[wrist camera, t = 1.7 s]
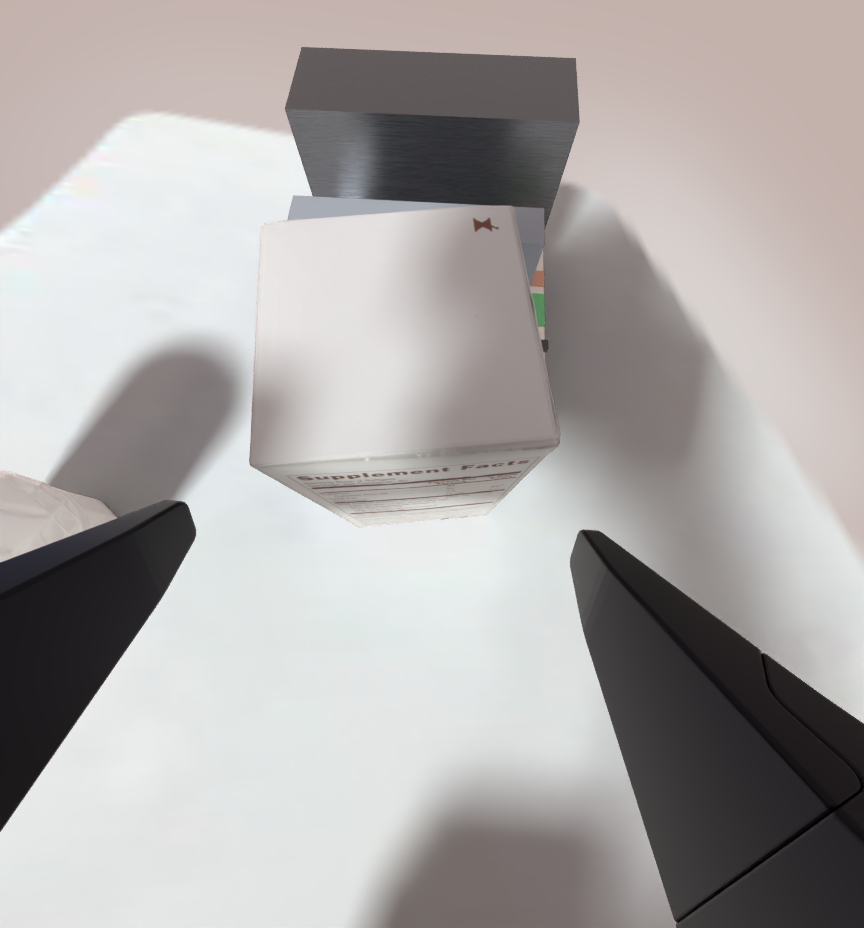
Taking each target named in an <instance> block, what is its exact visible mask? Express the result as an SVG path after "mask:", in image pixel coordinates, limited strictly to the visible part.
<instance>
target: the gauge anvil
mask: <svg viewBox="0 0 864 928" xmlns="http://www.w3.org/2000/svg"><path fill="white" fill-rule="evenodd" d="M285 111H286V114H287V117H288V120H289V123H290V126H291V130H292V133H293V136H294V139H295V142H296V145H297V148H298V151H299V154H300V158H301V161H302V164H303V167H304V170H305V173H306V176H307V179H308V183H309V186H310V189H311V192H312V195H313V197H332V198H352V199H371V200H391V201H411V202H431V203H450V204H470V205H490V206H512V207H529V208H544V230H545V227H546V224H547V221H548V218H549V215H550V212H551V209H552V206H553V202H554V199H555V196H556V193H557V190H558V187H559V184H560V181H561V178H562V175H563V172H564V169H565V165H566V162H567V159H568V156H569V153H570V150H571V146H572V144H573V141H574V138H575V135H576V131H577V128H578V125H579V122H580V121H579V105H578V89H577V72H576V58H554V57H531V56H506V55H480V54H456V53H433V52H408V51H383V50H359V49H358V50H357V49H335V48H309V47H302V48H301V52H300V55H299V59H298V63H297V67H296V70H295V74H294V78H293V81H292V85H291V89H290V92H289V96H288V99H287V103H286V107H285ZM530 290H531V293H532V296H533V299H534V304H535V309H536V316H537V323H538V329H539V334H540V338H541V340H545V294H544V271H543V250H542V253H541V256H540V259H539V262H538V265H537V268H536V271H535V274H534V277H533V280H532V283H531V286H530ZM544 357H545V352H544Z"/></svg>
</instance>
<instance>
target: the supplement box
mask: <svg viewBox="0 0 864 928" xmlns="http://www.w3.org/2000/svg"><path fill="white" fill-rule="evenodd" d="M559 443H560V429H559V424H558V420H557V415H556V409H555V404H554V400H553V396H552V391H551V387H550V382H549V377H548V372H547V367H546V362H545V357H544V352H543V348H542V343H541V338H540V334H539V329H538V323H537V316H536V309H535V304H534V299H533V296H532V293H531V290H530V285H529V280H528V275H527V270H526V266H525V261H524V256H523V251H522V246H521V241H520V236H519V232H518V227H517V221H516V214H515V209H514V207H512V206H469V207H452V208H440V209H428V210H415V211H401V212H391V213H379V214H364V215H351V216H339V217H327V218H312V219H297V220H287V221H279V222H273V223H266V224H264V225H263V226H261V231H260V255H259V273H258V293H257V313H256V335H255V356H254V378H253V399H252V420H251V443H250V458H249V463H250V466H252V467H253V468H255V469H257V470H259V471H261V472H262V473H264V474H266V475H268V476H269V477H271V478H273V479H275V480H277V481H278V482H280V483H282V484H283V485H285V486H287V487H289V488H291V489H292V490H294V491H296V492H298V493H299V494H301V495H303V496H304V497H306V498H308V499H310V500H312V501H313V502H315V503H317V504H319V505H321V506H323V507H324V508H326V509H328V510H329V511H331V512H333V513H335V514H336V515H338V516H340V517H341V518H343V519H345V520H347V521H348V522H350V523H352V524H354V525H356V526H357V527H359V528H362V527H369V526H380V525H389V524H399V523H410V522H420V521H431V520H442V519H452V518H462V517H472V516H482V515H486V514H487V513H489V512H490V511H491V510H492V509H493V508H494V507H495V506H496V505H497V504H498V503H499V502H500V501H501V500H502V499H503V498H504V497H505V496H506V495H507V494H508V493H509V492H510V491H511V490H512V489H513V488H514V487H515V486H516V485H517V484H518V483H519V482H520V481H521V480H522V479H523V478H524V477H525V476H526V475H527V474H528V473H529V472H530V471H531V470H532V469H533V468H534V467H535V466H536V465H537V464H538V463H539V462H540V461H541V460H542V459H543V458H544V457H545V456H547V455H548V454H549V453H550V452H552V451H553V450H554V449H555V448H556V447H557V446H558V445H559Z"/></svg>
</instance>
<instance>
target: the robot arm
mask: <svg viewBox="0 0 864 928" xmlns="http://www.w3.org/2000/svg"><path fill="white" fill-rule="evenodd" d="M195 537H196V528H195V525H194V522H193V519H192V516H191V513H190V510H189V507H188V505H187V504H186V503H185V502H183V501H172V500H165V501H161V502H159V503H156V504H154V505H151V506H148V507H146V508H143V509H140V510H138V511H135V512H132V513H130V514H127V515H124V516H122V517H119V518H116V519H114V520H111V521H109V522H106V523H103V524H101V525H98V526H95V527H93V528H90V529H87V530H85V531H82V532H79V533H77V534H74V535H72V536H69V537H66V538H64V539H61V540H58V541H56V542H53V543H50V544H48V545H45V546H42V547H40V548H37V549H34V550H32V551H29V552H27V553H24V554H21V555H19V556H16V557H13V558H11V559H8V560H5V561H3V562H0V832H1V830H2V829H3V827H4V826H5V825H6V823H7V822H8V820H9V819H10V817H11V816H12V814H13V813H14V812H15V810H16V809H17V807H18V806H19V804H20V803H21V801H22V800H23V799H24V797H25V796H26V794H27V793H28V791H29V790H30V788H31V787H32V786H33V784H34V783H35V781H36V780H37V778H38V777H39V775H40V774H41V772H42V771H43V770H44V768H45V767H46V765H47V764H48V762H49V761H50V759H51V758H52V757H53V755H54V754H55V752H56V751H57V749H58V748H59V746H60V745H61V744H62V742H63V741H64V739H65V738H66V736H67V735H68V733H69V732H70V731H71V729H72V728H73V726H74V725H75V723H76V722H77V720H78V719H79V718H80V716H81V715H82V713H83V712H84V710H85V709H86V707H87V706H88V705H89V703H90V702H91V700H92V699H93V697H94V696H95V694H96V693H97V692H98V690H99V689H100V687H101V686H102V684H103V683H104V681H105V680H106V678H107V677H108V676H109V674H110V673H111V671H112V670H113V668H114V667H115V665H116V664H117V663H118V661H119V660H120V658H121V657H122V655H123V654H124V652H125V651H126V650H127V648H128V647H129V645H130V644H131V642H132V641H133V639H134V638H135V637H136V635H137V634H138V632H139V631H140V629H141V628H142V626H143V625H144V624H145V622H146V621H147V619H148V618H149V616H150V615H151V613H152V612H153V611H154V609H155V608H156V606H157V605H158V603H159V602H160V600H161V598H162V597H163V595H164V593H165V592H166V590H167V588H168V587H169V585H170V583H171V581H172V579H173V578H174V576H175V574H176V572H177V570H178V569H179V567H180V565H181V563H182V561H183V560H184V558H185V556H186V554H187V553H188V551H189V549H190V547H191V545H192V544H193V542H194V540H195ZM570 567H571V573H572V578H573V583H574V588H575V593H576V598H577V603H578V608H579V613H580V619H581V623H582V628H583V632H584V635H585V639H586V642H587V645H588V649H589V652H590V655H591V658H592V661H593V664H594V667H595V671H596V674H597V677H598V680H599V683H600V686H601V690H602V693H603V696H604V699H605V702H606V705H607V709H608V712H609V715H610V718H611V721H612V724H613V728H614V731H615V734H616V737H617V740H618V743H619V747H620V750H621V753H622V756H623V759H624V762H625V765H626V769H627V772H628V775H629V778H630V781H631V784H632V788H633V791H634V794H635V797H636V800H637V803H638V807H639V810H640V813H641V816H642V819H643V822H644V826H645V829H646V832H647V835H648V838H649V841H650V844H651V848H652V851H653V854H654V857H655V860H656V863H657V867H658V870H659V873H660V876H661V879H662V882H663V886H664V889H665V892H666V895H667V898H668V901H669V905H670V908H671V911H672V914H673V917H674V920H675V921H676V922H677V924H676V928H864V724H863V723H862V722H860V721H859V720H858V719H856V718H855V717H853V716H852V715H850V714H849V713H847V712H846V711H844V710H843V709H841V708H840V707H839V706H837V705H836V704H834V703H833V702H831V701H830V700H828V699H827V698H826V697H824V696H823V695H821V694H820V693H819V692H817V691H816V690H814V689H813V688H812V687H810V686H809V685H808V684H806V683H805V682H803V681H802V680H801V679H799V678H798V677H796V676H795V675H794V674H792V673H791V672H790V671H788V670H787V669H785V668H784V667H783V666H781V665H780V664H779V663H777V662H776V661H775V660H773V659H772V658H771V657H769V656H768V655H767V654H765V653H761V651H760V650H759V649H758V648H757V647H756V646H754V645H753V644H752V643H750V642H749V641H748V640H746V639H745V638H743V637H742V636H741V635H739V634H738V633H737V632H735V631H734V630H733V629H731V628H730V627H729V626H727V625H726V624H725V623H723V622H722V621H721V620H719V619H718V618H716V617H715V616H714V615H712V614H711V613H710V612H708V611H707V610H706V609H704V608H703V607H702V606H700V605H699V604H698V603H696V602H695V601H694V600H692V599H691V598H689V597H688V596H687V595H685V594H684V593H683V592H681V591H680V590H679V589H677V588H676V587H675V586H673V585H672V584H671V583H669V582H668V581H667V580H665V579H664V578H662V577H661V576H660V575H658V574H657V573H656V572H654V571H653V570H652V569H650V568H649V567H648V566H646V565H645V564H644V563H642V562H641V561H639V560H638V559H637V558H635V557H634V556H633V555H631V554H630V553H629V552H627V551H626V550H625V549H623V548H622V547H621V546H619V545H618V544H617V543H615V542H614V541H612V540H611V539H610V538H608V537H607V536H606V535H604V534H603V533H602V532H600V531H596V530H581V531H579V533H578V535H577V538H576V541H575V545H574V548H573V551H572V554H571V558H570Z"/></svg>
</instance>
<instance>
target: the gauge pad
mask: <svg viewBox="0 0 864 928" xmlns="http://www.w3.org/2000/svg"><path fill="white" fill-rule="evenodd" d="M469 206H490V205H470V204H450V203H431V202H411V201H391V200H371V199H352V198H332V197H312V196H293V199H292V203H291V207H290V211H289V215H288V220H297V219H312V218H327V217H339V216H351V215H364V214H379V213H391V212H401V211H415V210H428V209H440V208H452V207H469ZM514 209H515V214H516V221H517V227H518V232H519V236H520V241H521V246H522V251H523V256H524V261H525V266H526V270H527V275H528V280H529V285H530V286H531V283H532V280H533V277H534V274H535V271H536V268H537V265H538V262H539V259H540V256H541V253H542V250H543V248H544V245H545V232H544V208H529V207H514ZM541 343H542V348H543V352H547V350H548V340H541Z"/></svg>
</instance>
